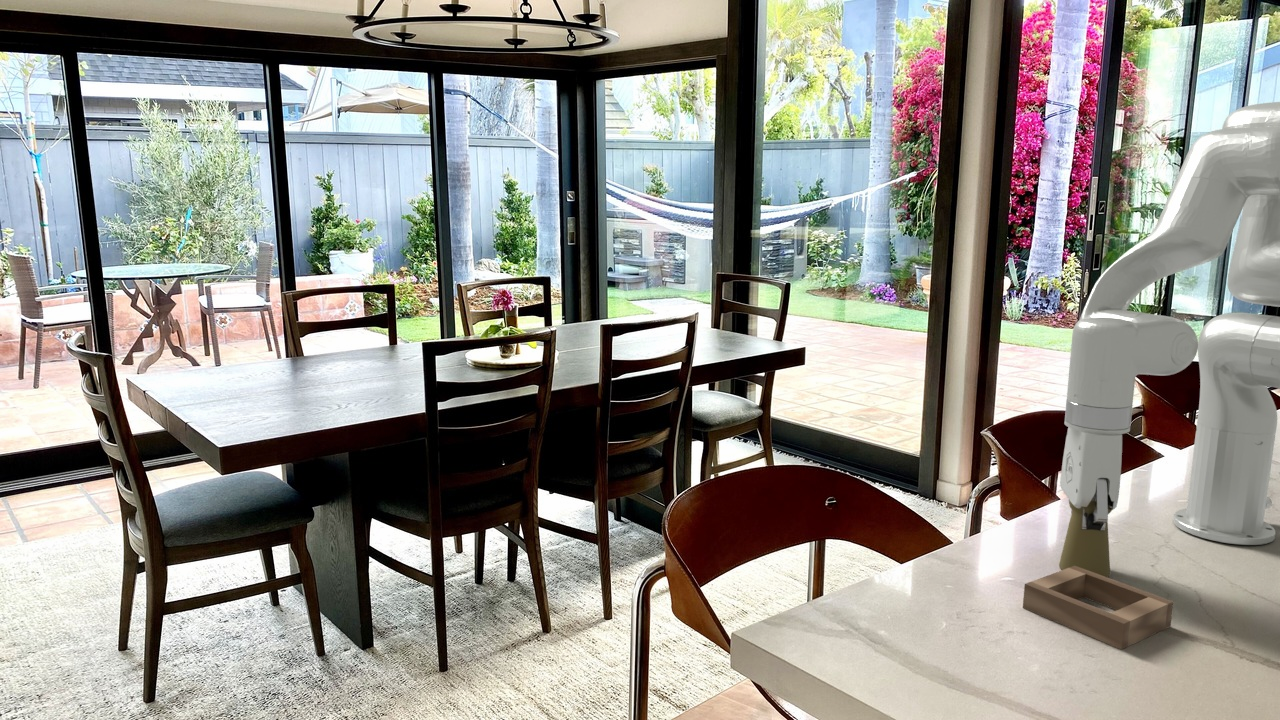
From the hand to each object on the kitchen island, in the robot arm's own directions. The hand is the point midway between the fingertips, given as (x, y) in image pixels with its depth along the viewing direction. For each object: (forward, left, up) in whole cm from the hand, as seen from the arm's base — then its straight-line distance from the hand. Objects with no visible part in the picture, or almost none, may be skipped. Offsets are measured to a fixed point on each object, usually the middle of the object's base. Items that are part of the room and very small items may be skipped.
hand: (1084, 551), depth 122 cm
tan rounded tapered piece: (+1, 0, -2) cm, 2 cm away
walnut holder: (+12, +9, -2) cm, 15 cm away
